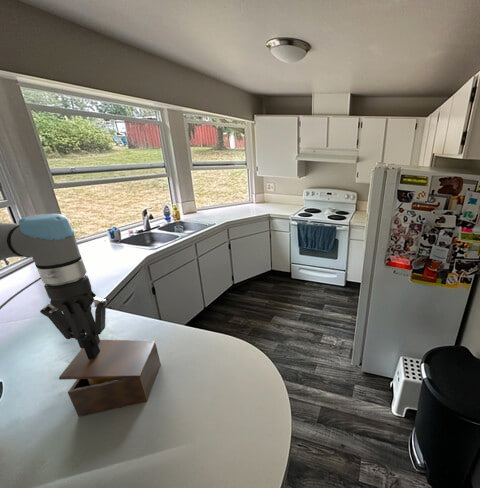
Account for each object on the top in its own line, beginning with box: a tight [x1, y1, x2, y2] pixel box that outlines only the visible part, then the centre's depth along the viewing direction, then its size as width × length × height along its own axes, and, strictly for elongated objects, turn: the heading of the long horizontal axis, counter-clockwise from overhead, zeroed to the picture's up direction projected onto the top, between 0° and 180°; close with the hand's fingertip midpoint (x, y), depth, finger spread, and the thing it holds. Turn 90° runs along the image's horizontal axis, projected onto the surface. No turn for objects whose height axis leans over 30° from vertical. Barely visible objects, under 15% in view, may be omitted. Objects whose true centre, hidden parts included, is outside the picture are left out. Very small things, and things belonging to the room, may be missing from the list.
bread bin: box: [67, 342, 162, 418], centre depth 72 cm, size 16×14×9 cm
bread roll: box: [88, 378, 125, 386], centre depth 71 cm, size 8×9×4 cm
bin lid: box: [58, 339, 156, 381], centre depth 70 cm, size 17×14×1 cm
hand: (94, 355), depth 68 cm, fingers closed
